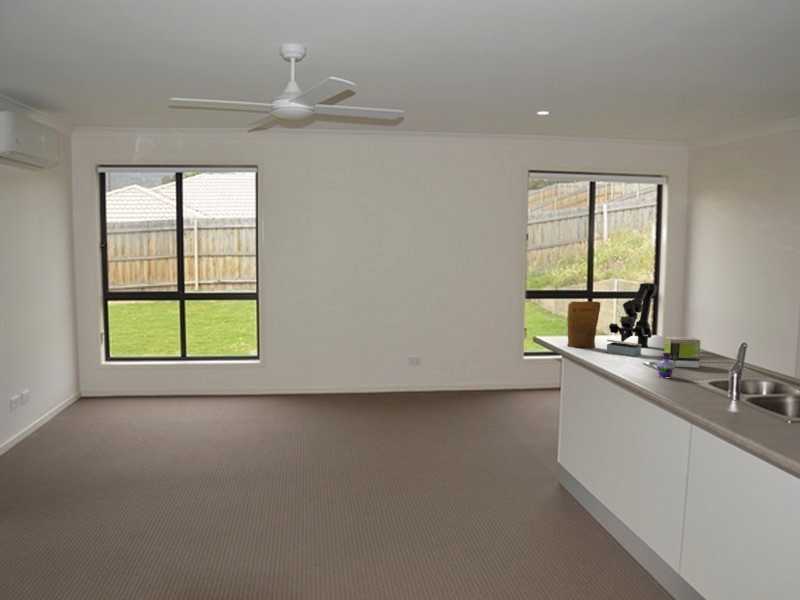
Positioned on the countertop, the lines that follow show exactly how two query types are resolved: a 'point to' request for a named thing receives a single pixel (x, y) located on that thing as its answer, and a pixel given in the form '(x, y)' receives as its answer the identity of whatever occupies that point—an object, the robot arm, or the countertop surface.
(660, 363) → the potion bottle
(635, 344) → the birch lid
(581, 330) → the pancake mix bag
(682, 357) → the tea box
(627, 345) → the slate box
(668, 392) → the countertop surface
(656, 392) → the countertop surface
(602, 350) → the countertop surface
